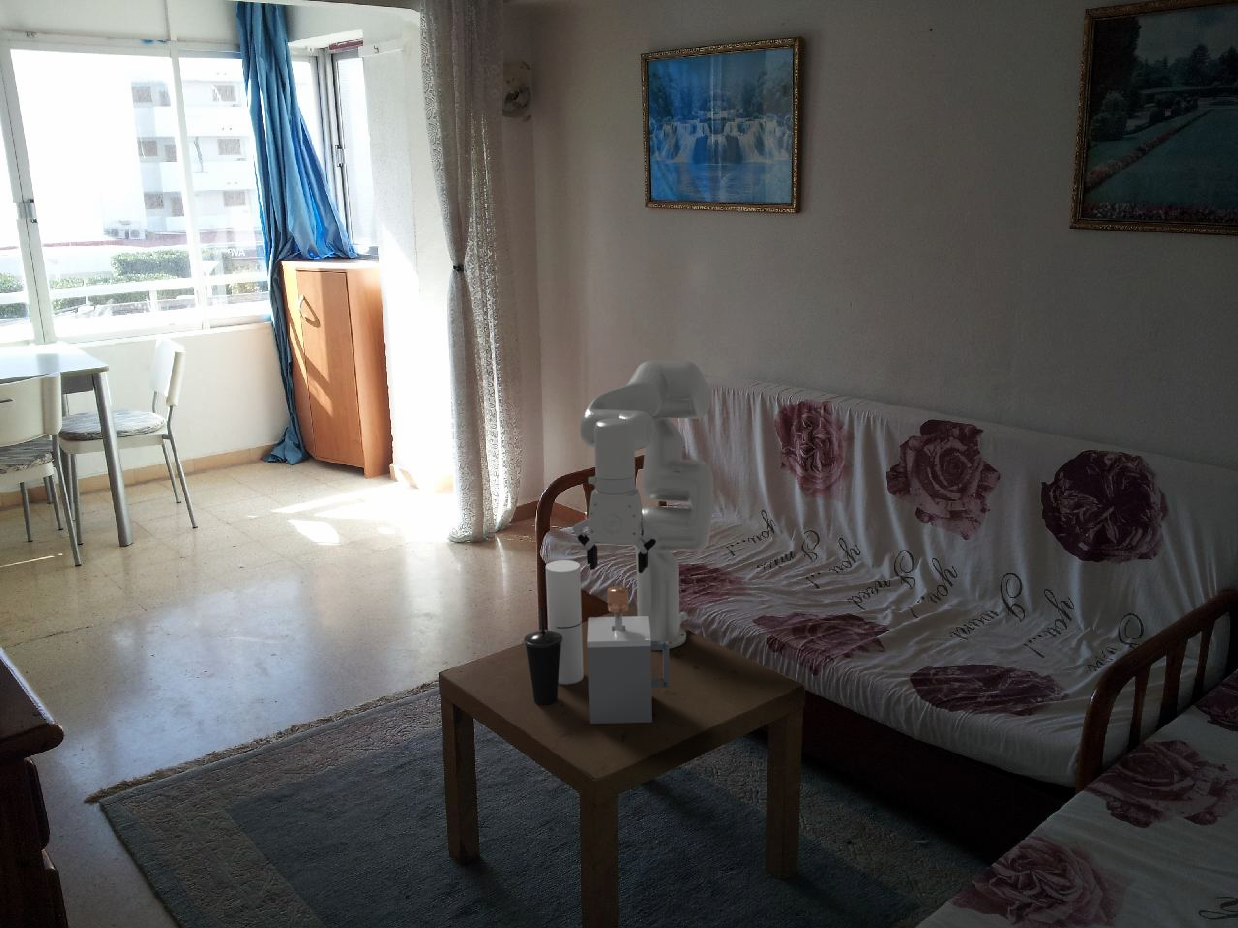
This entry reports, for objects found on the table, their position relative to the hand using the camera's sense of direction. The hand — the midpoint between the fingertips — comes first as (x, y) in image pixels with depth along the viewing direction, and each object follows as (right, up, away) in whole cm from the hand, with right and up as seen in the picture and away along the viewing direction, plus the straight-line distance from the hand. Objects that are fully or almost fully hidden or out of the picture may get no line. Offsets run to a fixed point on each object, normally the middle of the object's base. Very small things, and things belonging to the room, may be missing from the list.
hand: (617, 569), depth 206 cm
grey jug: (+2, -29, +7) cm, 29 cm away
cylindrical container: (-11, -25, +22) cm, 35 cm away
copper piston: (+1, -27, +6) cm, 27 cm away
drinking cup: (-15, -28, +11) cm, 33 cm away
